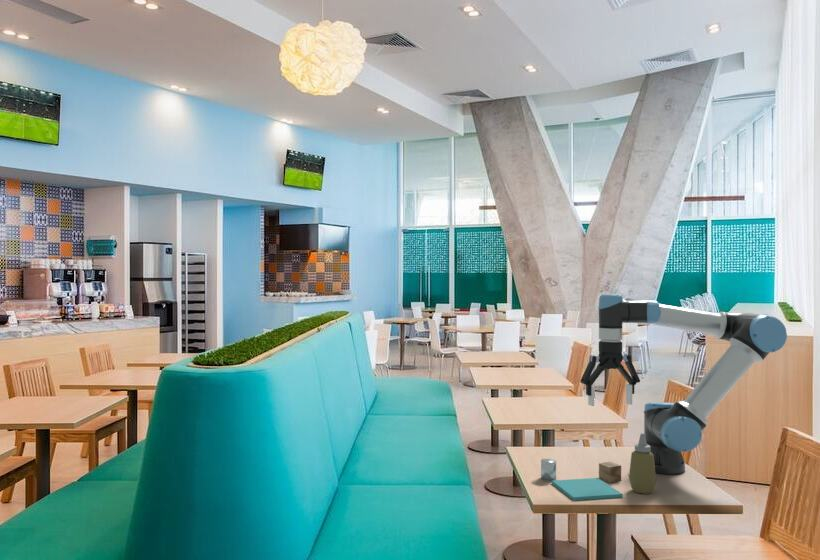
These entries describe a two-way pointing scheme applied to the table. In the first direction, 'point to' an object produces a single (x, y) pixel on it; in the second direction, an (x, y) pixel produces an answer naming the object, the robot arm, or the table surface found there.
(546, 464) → the grey metal tin
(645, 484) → the squeeze bottle
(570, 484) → the teal mat
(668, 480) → the table surface
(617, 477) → the walnut block
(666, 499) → the table surface
